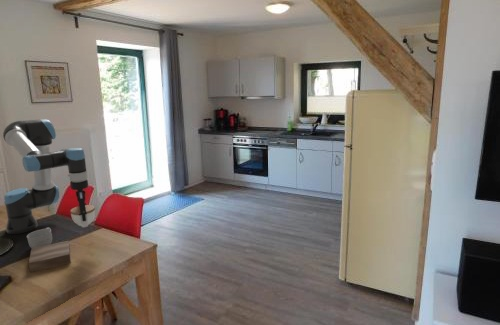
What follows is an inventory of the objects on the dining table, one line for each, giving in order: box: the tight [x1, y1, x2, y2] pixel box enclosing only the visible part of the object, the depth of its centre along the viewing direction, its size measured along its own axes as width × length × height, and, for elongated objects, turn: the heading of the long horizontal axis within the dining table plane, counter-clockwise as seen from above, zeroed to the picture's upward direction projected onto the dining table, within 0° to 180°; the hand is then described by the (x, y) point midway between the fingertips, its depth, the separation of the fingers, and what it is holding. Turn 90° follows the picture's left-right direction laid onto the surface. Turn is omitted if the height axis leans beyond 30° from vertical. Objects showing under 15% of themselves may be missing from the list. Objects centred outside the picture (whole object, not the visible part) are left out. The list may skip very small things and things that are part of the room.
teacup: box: [26, 227, 53, 249], centre depth 168 cm, size 14×11×8 cm
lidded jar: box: [70, 204, 96, 227], centre depth 159 cm, size 11×11×9 cm
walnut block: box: [28, 240, 72, 273], centre depth 154 cm, size 16×16×5 cm
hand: (84, 222), depth 160 cm, fingers closed on lidded jar, 11 cm apart
